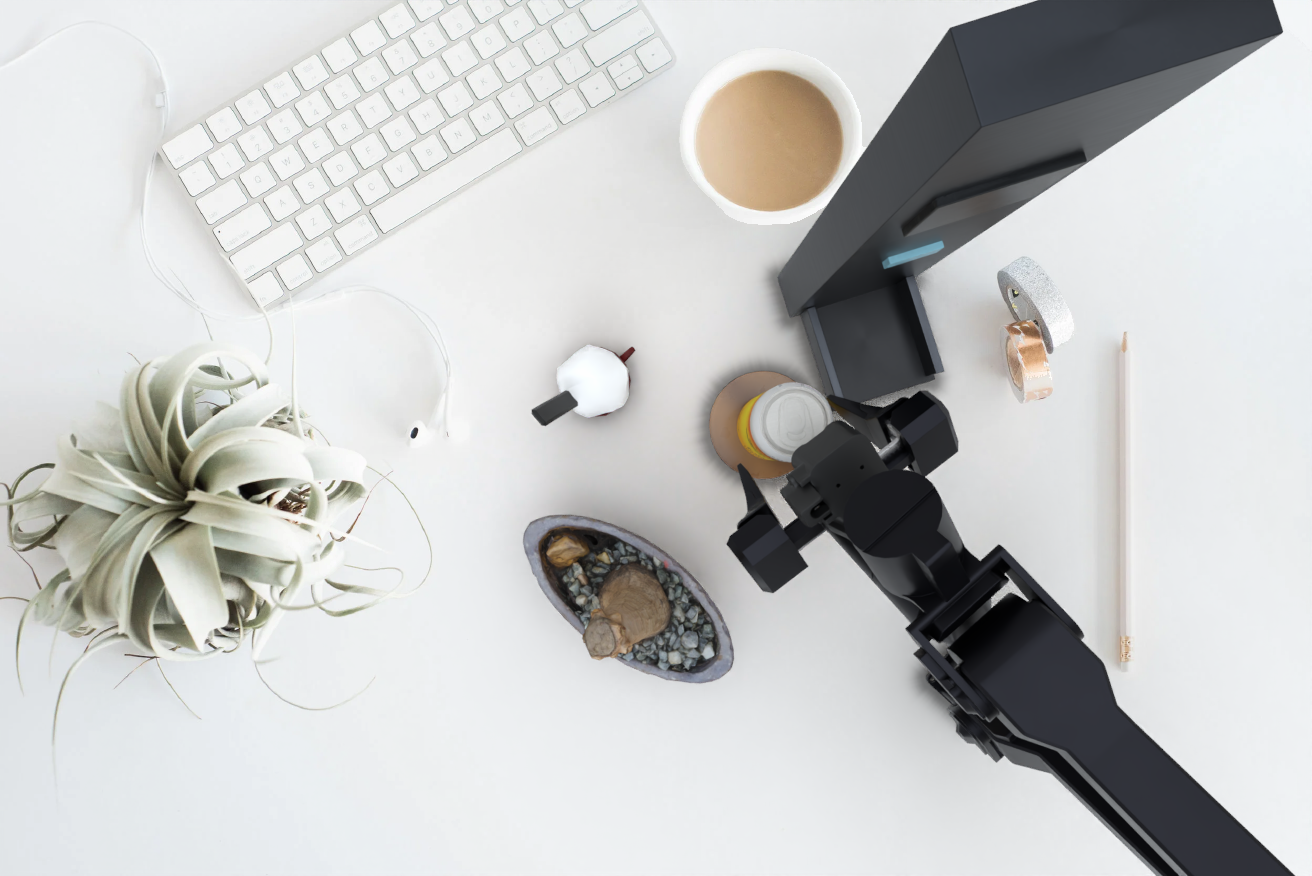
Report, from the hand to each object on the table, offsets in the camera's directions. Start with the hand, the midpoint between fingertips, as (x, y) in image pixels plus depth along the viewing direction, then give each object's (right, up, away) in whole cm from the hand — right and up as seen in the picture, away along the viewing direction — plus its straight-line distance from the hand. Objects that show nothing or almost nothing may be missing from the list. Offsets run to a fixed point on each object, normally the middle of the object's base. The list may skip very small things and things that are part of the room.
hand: (784, 432), depth 68 cm
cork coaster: (-1, +1, +9) cm, 9 cm away
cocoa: (-16, +4, +9) cm, 19 cm away
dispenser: (+8, +10, +9) cm, 16 cm away
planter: (-13, -14, +9) cm, 21 cm away
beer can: (0, +1, +9) cm, 9 cm away
